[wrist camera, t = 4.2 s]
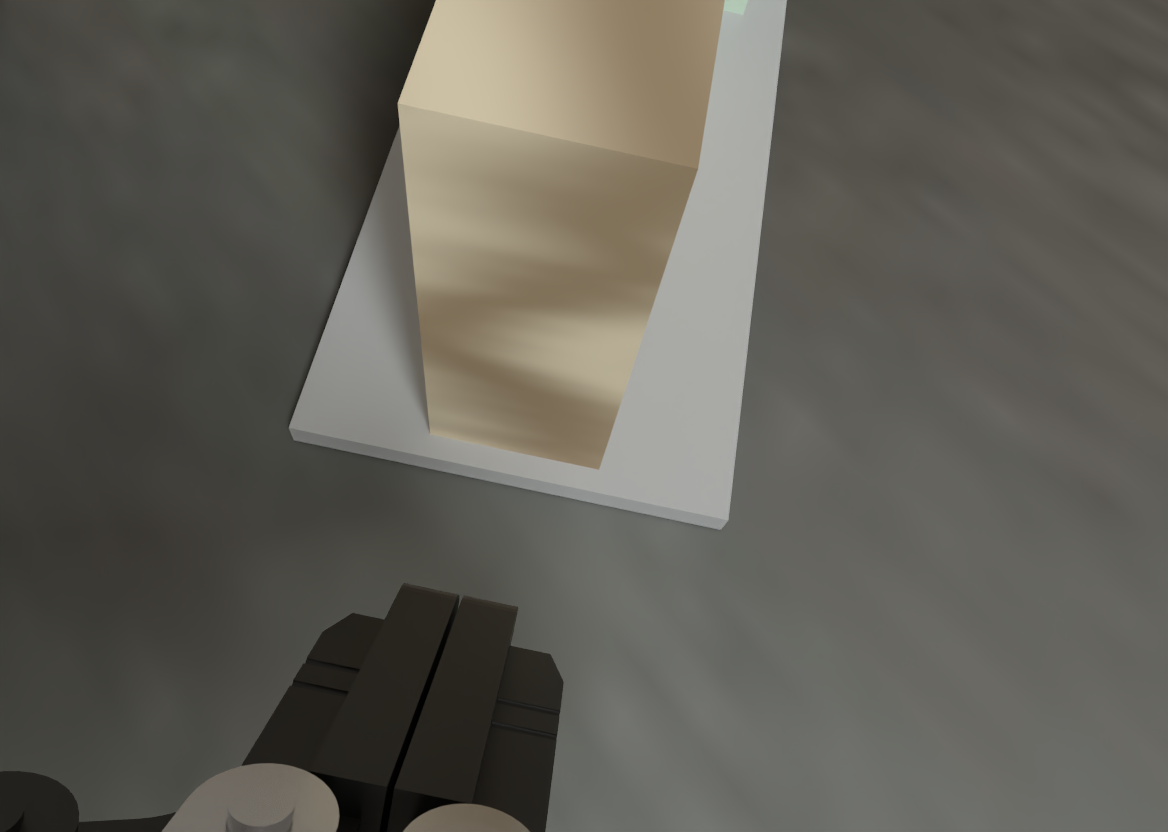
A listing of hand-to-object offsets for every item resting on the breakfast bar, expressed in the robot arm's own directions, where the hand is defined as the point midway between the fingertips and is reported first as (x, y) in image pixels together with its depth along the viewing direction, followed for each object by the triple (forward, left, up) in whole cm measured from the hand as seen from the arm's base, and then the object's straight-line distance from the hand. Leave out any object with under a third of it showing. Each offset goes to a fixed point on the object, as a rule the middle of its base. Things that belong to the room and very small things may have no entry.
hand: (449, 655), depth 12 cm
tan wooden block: (0, +11, -5) cm, 12 cm away
